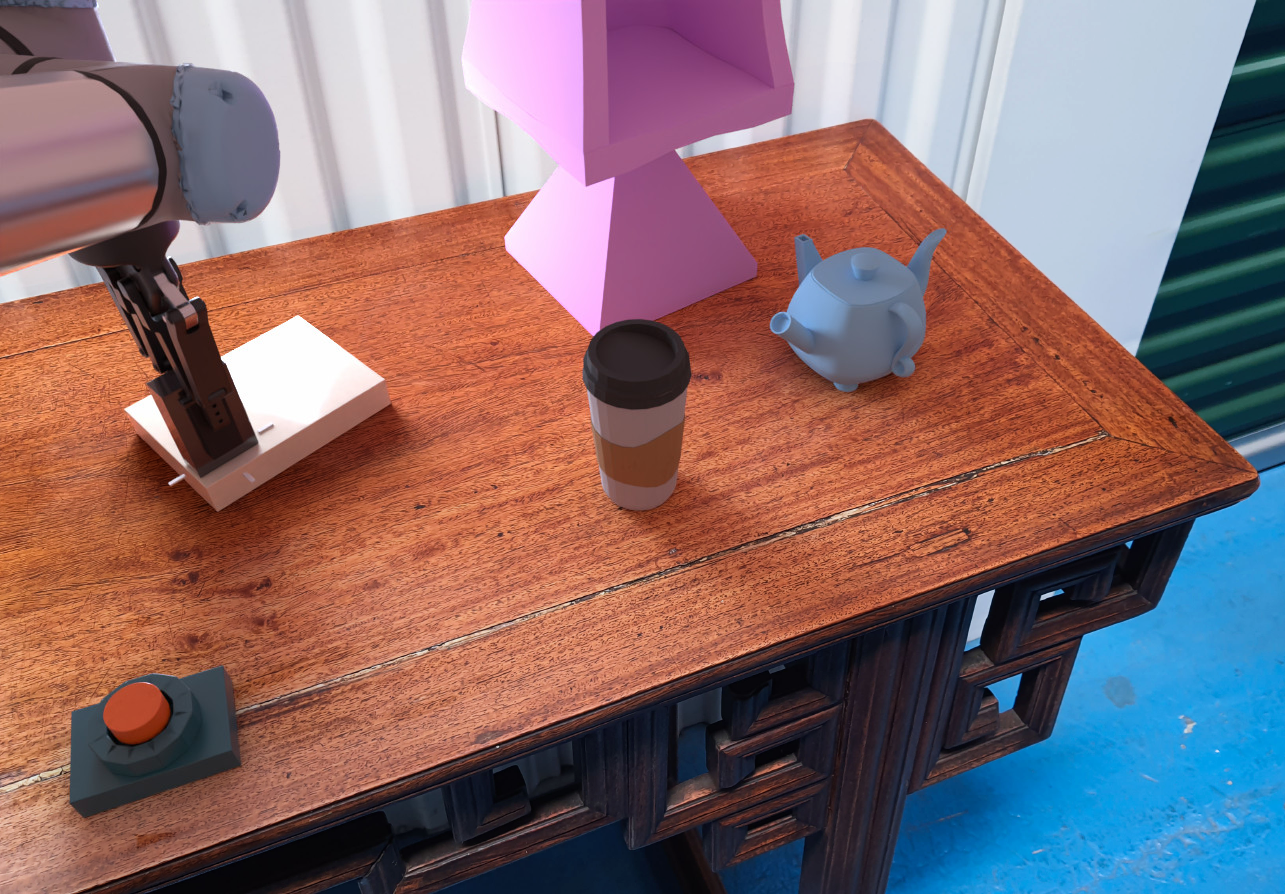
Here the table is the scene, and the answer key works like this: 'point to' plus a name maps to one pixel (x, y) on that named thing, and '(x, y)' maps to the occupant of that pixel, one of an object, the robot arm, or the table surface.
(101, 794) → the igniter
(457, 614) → the table surface
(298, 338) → the switch panel
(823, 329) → the teapot
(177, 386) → the dark slab
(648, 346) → the coffee cup
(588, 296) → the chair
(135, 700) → the button
